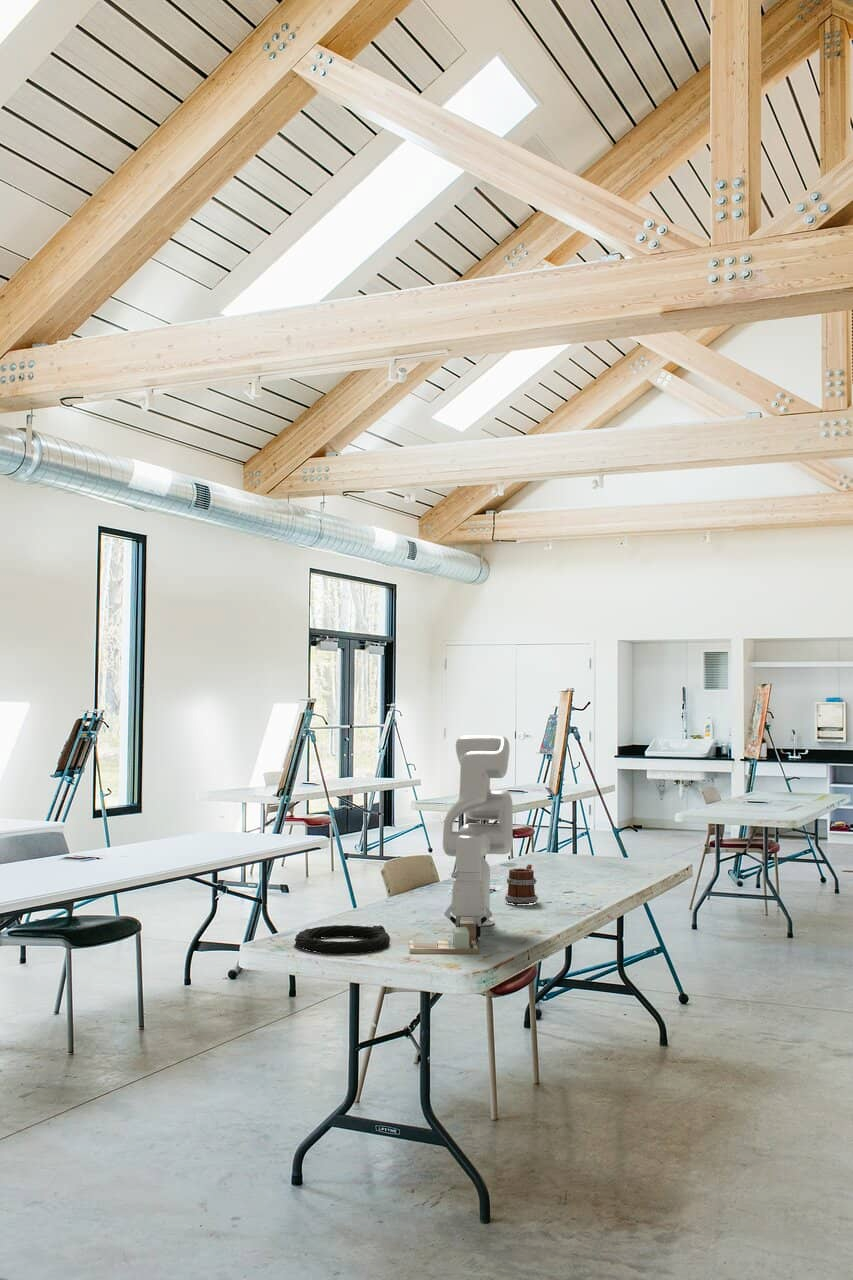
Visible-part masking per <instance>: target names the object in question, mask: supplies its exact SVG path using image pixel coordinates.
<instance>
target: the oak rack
mask: <svg viewBox="0 0 853 1280" xmlns="http://www.w3.org/2000/svg"><path fill="white" fill-rule="evenodd" d="M408 941H409V944H408V945H410V946H409V954H461V953H479V948H478V946H477V944H476V943H477V942H476V943H475V940H471V943H469V948H454V947H453V943H449V942H448V939H436V943H432V942H431V943H429V942H428V943H423V942H422V943H420V942H419V943H416V942H415V943H414V939H410V938H409V939H408Z"/></svg>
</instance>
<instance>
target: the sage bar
mask: <svg viewBox="0 0 853 1280" xmlns="http://www.w3.org/2000/svg"><path fill="white" fill-rule="evenodd" d="M452 944H453V947H454V948H469V944H470V943H469V931H468V929H467V927H456V926H453V927H452Z"/></svg>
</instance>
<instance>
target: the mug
mask: <svg viewBox="0 0 853 1280" xmlns="http://www.w3.org/2000/svg"><path fill="white" fill-rule="evenodd" d="M532 867H533V866H532V864H527V866H526V868H511V869H509V871H508V877H507V878H506V883H507V884H508V885H507V886H508V887H507V894H505V898H504V901H506V903H507V902H508V903H513V904H529V903H534V902H536V903H537V901H538V899H539V897H538V896H537V895H536V890H535V889H536V888H535V884H537V881H538V880H537V879H536V877H535V876H534V875H535V873H534V871H535V870H533V869H532Z"/></svg>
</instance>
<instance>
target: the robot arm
mask: <svg viewBox="0 0 853 1280" xmlns="http://www.w3.org/2000/svg"><path fill="white" fill-rule="evenodd" d="M455 750H456V751H455V752H456V756H457V759H458V763H459V765H460V772H459V773H460V774H459V775H460V776H459V794H458V795H459V797H458V800H456V802H455V803H454V804H453V805H452V806H451V807H450V808H449V811H448V812H446V813H447V814H446V816H445V818H444V822H443V829H442V830H443V832H442V833H443V834H442V849H443V852H444V854H445V855H446V856H448V857H455V858H456V859H455V861H456V862H455V871H454V872H451V874H450V877H451V878H453V879H455V880H454V881H453V885H452V892H451V901H450V905H449V906H448V908H446V909H445V911H444V913H443V915H444V917H446V918H447V919H448V920H449V921H451V923H452V924H453V925H454V927H461V921H474V923H475V925H476V941H479V938H481V933H482V932H481V931H482V929H481V927H485V926H487V927H488V926H491V925H492V926H493V924H495V919H494V918H493V913H492V911H491V910H490V908H491V907H490V905H491V904H490V903H491V901H490V899H491V896H490V895H491V891H490V890H491V889H490V888H491V869H490V864H489V863H488V861H487V860H486V859H485V857H486V855H507V854H509V853H510V852H511V851H512V848H513V830H514V829H513V827H514V825H513V824H514V823H513V820H514V819H513V818H514V817H513V816H514V815H513V813H514V812H513V811H514V809H513V799H512V795H511V794H510V792H507V791H505V790H491V779H502V778H504V777H505V776H506V774H507V773H508V772H507V771H508V766H509V758H510V757H509V756H510V743H509V740H508V738H507V737H506V736H502V735H476V734H475V735H463V736H460V737H458V738H457V739H456V742H455ZM463 814H464V816H465V817H466V818H467V819H470V820H485V821H486V820H487V821H497V822H498V823H497V824H495V823H493V824H492V823H467V824H464V825H461V827H460V828H459V830H458V831H454V830H453V829H454V827H453V826H454V823H455V821H456V820H457V819H458V818H459V817H460V816H461V815H463Z"/></svg>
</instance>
